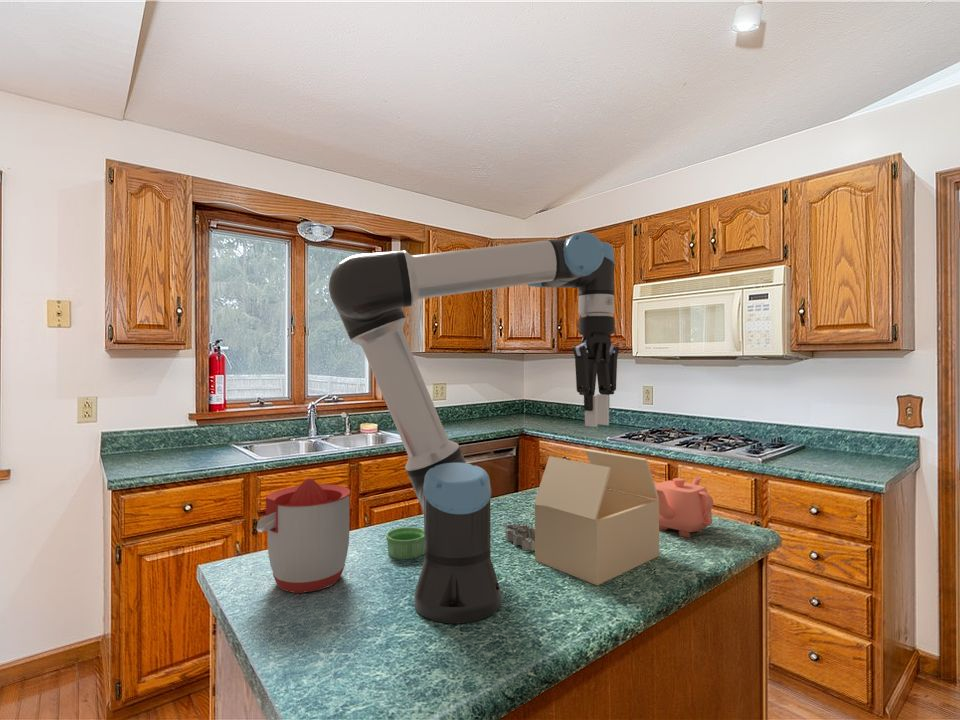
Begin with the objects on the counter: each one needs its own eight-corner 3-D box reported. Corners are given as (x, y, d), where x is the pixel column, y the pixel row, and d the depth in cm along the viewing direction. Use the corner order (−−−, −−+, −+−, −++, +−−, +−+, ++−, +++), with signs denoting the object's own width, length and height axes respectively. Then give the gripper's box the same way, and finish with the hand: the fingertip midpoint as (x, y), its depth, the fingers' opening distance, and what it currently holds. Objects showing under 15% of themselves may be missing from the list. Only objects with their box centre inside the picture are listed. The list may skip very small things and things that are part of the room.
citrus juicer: (245, 581, 99) (245, 478, 99) (331, 558, 111) (330, 466, 111) (272, 611, 87) (271, 494, 87) (365, 582, 99) (364, 478, 99)
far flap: (645, 460, 108) (646, 458, 108) (585, 450, 120) (586, 449, 120) (657, 499, 111) (659, 497, 112) (598, 486, 123) (599, 484, 123)
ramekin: (424, 560, 110) (424, 540, 110) (382, 561, 109) (382, 540, 109) (428, 545, 118) (428, 526, 118) (389, 546, 118) (389, 526, 118)
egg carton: (552, 548, 117) (552, 530, 117) (525, 554, 114) (525, 535, 114) (527, 533, 127) (527, 517, 126) (501, 538, 123) (500, 521, 123)
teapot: (654, 539, 122) (654, 486, 122) (642, 517, 138) (642, 470, 138) (721, 542, 120) (721, 487, 120) (700, 519, 136) (700, 472, 136)
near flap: (596, 520, 97) (594, 519, 97) (535, 503, 109) (534, 502, 109) (611, 468, 100) (609, 467, 100) (550, 457, 112) (549, 456, 112)
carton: (597, 585, 97) (596, 521, 97) (535, 560, 109) (534, 504, 109) (659, 556, 111) (658, 500, 111) (598, 536, 123) (597, 486, 123)
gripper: (586, 312, 102) (587, 430, 102) (633, 316, 113) (633, 423, 113) (557, 315, 108) (558, 427, 108) (604, 319, 118) (605, 420, 118)
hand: (597, 425), depth 110 cm, fingers open, 3 cm apart
